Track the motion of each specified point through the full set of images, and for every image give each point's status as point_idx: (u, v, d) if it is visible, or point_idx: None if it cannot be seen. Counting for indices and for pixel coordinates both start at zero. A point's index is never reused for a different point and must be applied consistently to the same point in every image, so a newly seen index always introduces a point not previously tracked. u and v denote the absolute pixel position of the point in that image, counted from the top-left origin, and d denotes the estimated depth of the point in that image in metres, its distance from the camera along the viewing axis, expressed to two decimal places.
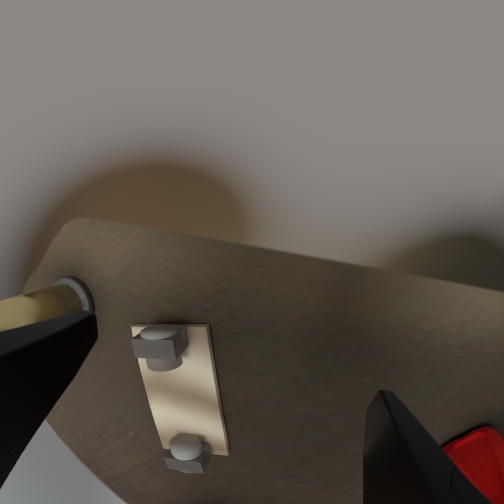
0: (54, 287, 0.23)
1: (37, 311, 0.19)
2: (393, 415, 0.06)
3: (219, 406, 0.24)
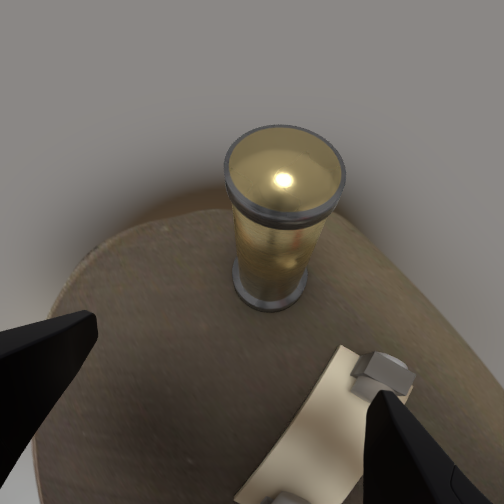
0: None
1: None
2: (393, 415, 0.06)
3: None
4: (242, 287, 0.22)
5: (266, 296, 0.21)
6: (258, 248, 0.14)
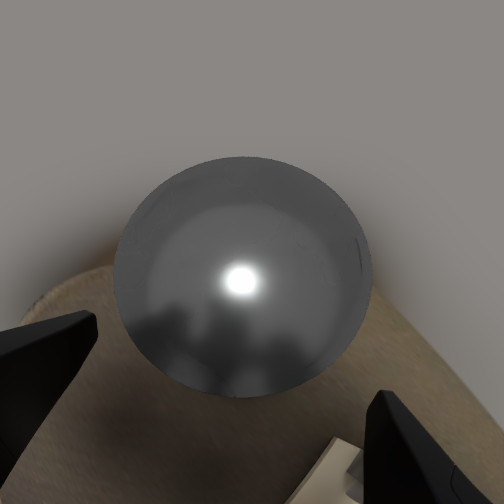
0: None
1: None
2: (393, 415, 0.06)
3: None
4: None
5: None
6: None
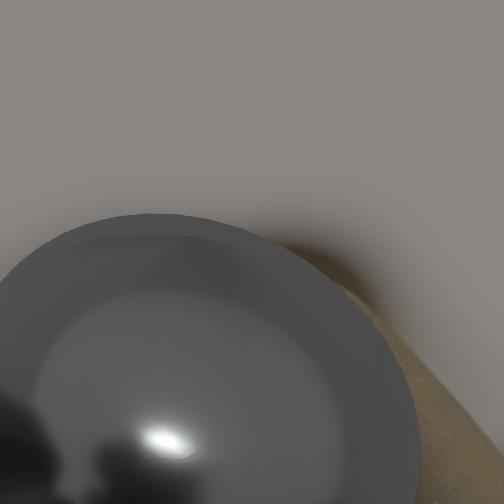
0: None
1: None
2: None
3: None
4: None
5: None
6: None
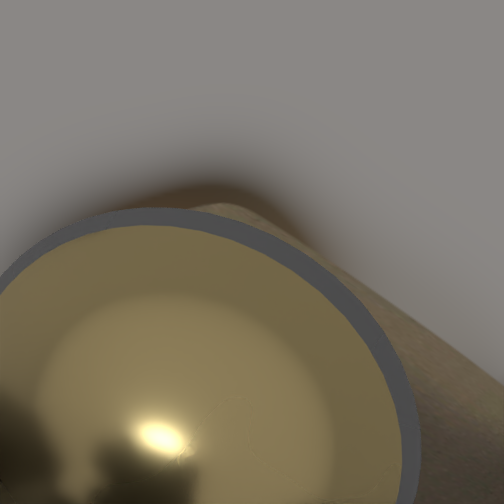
0: None
1: None
2: None
3: None
4: None
5: None
6: None
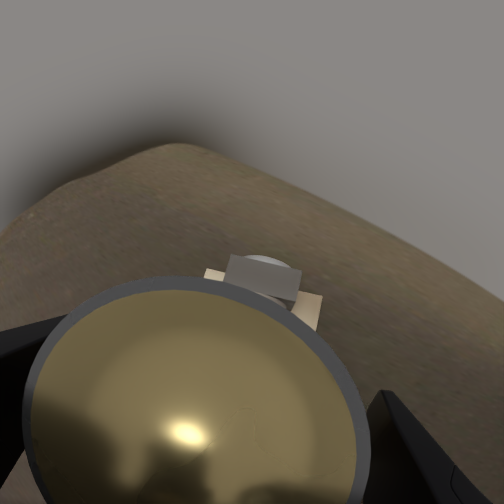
0: None
1: None
2: (393, 415, 0.06)
3: None
4: None
5: None
6: None
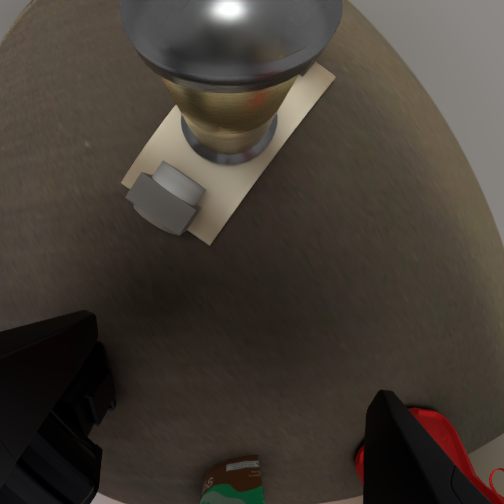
0: None
1: (281, 104, 0.11)
2: (393, 415, 0.06)
3: None
4: (188, 124, 0.16)
5: (206, 146, 0.15)
6: (173, 95, 0.08)
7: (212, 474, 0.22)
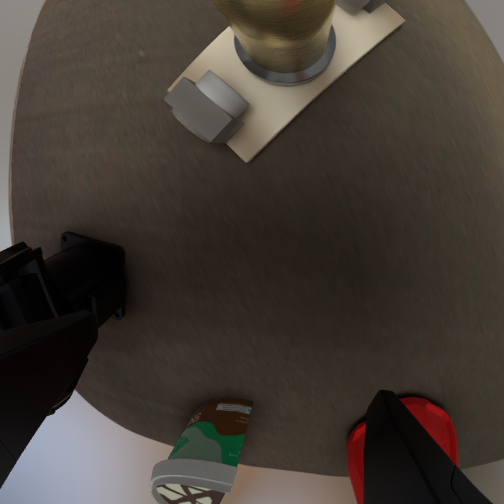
0: None
1: (327, 16, 0.08)
2: (393, 415, 0.06)
3: (321, 91, 0.15)
4: None
5: (255, 59, 0.13)
6: None
7: (202, 410, 0.24)
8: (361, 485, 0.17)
